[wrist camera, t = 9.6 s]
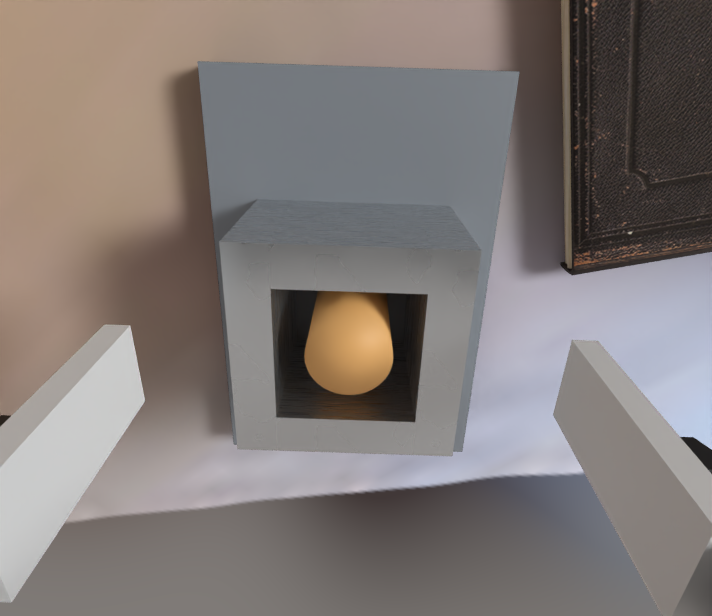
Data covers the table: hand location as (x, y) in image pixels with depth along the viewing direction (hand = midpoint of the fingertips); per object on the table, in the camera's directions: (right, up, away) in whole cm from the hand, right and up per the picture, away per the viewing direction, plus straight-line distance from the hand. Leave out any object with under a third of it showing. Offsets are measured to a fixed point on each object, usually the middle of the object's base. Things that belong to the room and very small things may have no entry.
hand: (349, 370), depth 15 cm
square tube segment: (0, +3, +7) cm, 8 cm away
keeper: (0, +3, +9) cm, 9 cm away
